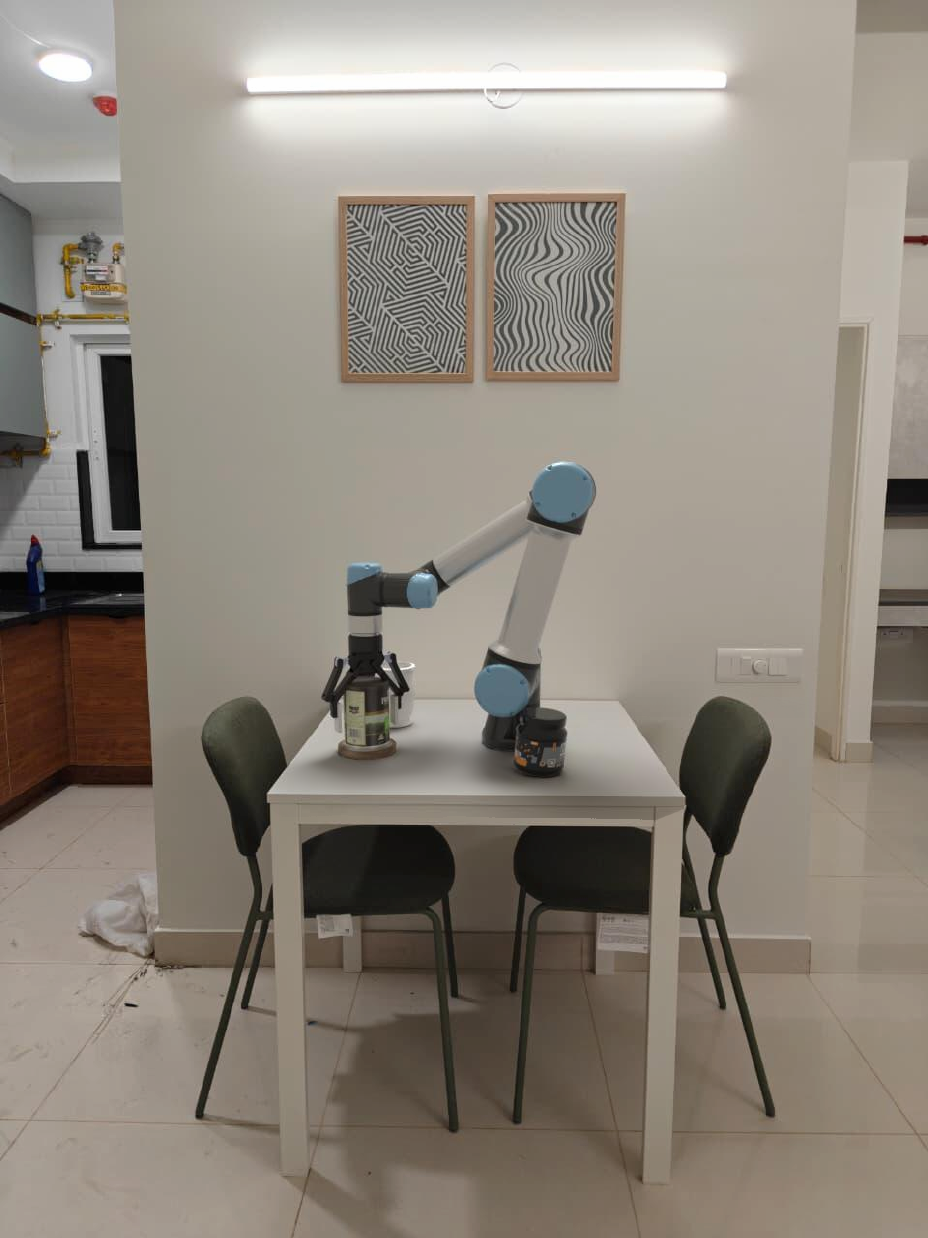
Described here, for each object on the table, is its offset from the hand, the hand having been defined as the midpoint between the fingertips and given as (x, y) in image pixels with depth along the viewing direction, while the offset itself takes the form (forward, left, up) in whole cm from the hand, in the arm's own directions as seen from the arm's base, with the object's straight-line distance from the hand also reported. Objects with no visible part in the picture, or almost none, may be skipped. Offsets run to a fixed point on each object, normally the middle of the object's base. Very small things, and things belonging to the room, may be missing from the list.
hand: (366, 727), depth 182 cm
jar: (+14, -17, -5) cm, 23 cm away
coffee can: (0, 0, -4) cm, 4 cm away
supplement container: (-34, -20, -5) cm, 40 cm away
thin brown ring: (0, 0, -5) cm, 5 cm away
